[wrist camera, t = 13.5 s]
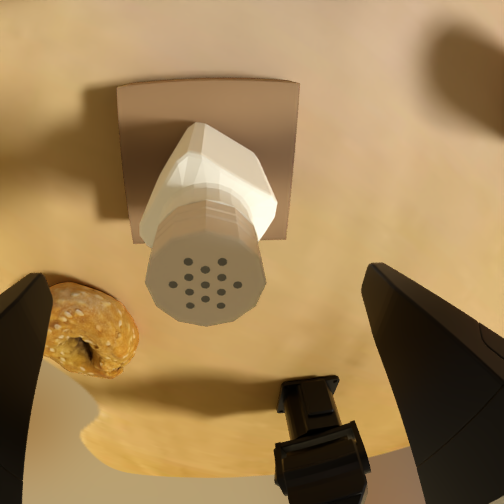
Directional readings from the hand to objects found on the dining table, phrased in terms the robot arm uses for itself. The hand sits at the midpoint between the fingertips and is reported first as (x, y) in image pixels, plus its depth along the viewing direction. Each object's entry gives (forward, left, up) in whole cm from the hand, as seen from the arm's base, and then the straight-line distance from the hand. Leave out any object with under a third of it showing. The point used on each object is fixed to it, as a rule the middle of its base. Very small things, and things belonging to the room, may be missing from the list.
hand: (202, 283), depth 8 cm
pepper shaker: (0, 0, -10) cm, 10 cm away
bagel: (-14, +11, -13) cm, 22 cm away
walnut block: (0, 0, -13) cm, 13 cm away
